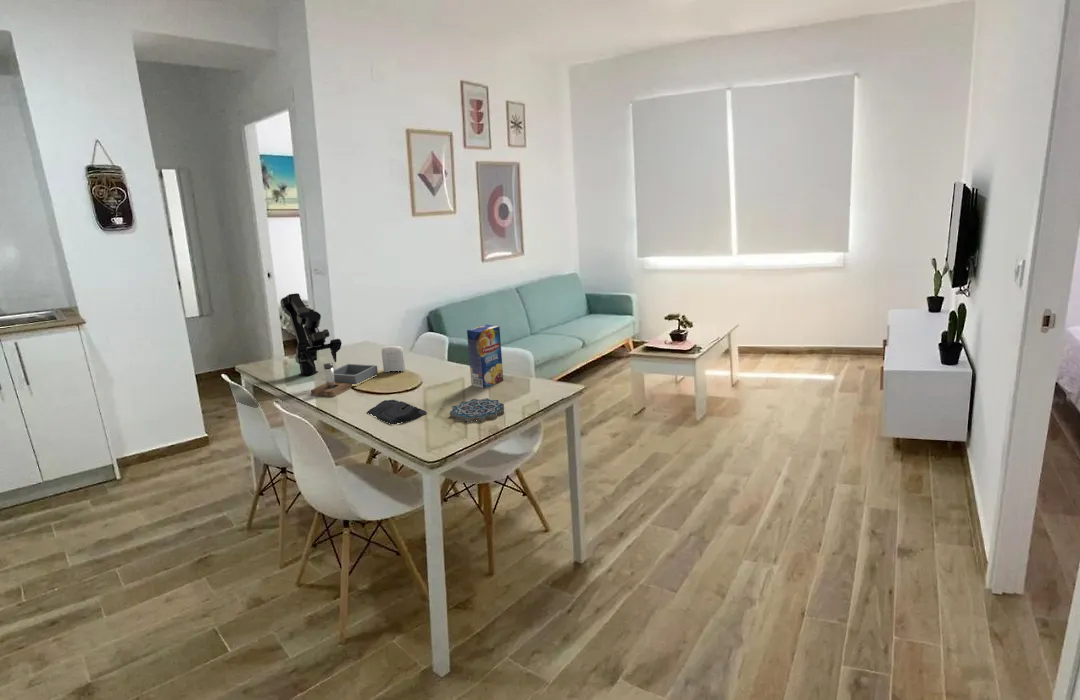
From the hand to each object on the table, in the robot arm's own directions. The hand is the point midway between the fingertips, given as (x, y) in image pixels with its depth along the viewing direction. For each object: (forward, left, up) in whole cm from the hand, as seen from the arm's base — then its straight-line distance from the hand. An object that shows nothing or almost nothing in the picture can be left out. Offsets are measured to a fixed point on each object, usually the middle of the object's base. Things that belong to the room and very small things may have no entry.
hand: (325, 364), depth 264 cm
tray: (+3, +13, -11) cm, 17 cm away
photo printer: (+15, +29, -11) cm, 34 cm away
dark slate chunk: (+47, -20, -12) cm, 53 cm away
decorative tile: (+78, -11, -12) cm, 79 cm away
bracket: (+4, -2, -11) cm, 12 cm away
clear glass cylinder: (+4, -2, -11) cm, 12 cm away
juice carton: (+66, +22, -11) cm, 70 cm away
